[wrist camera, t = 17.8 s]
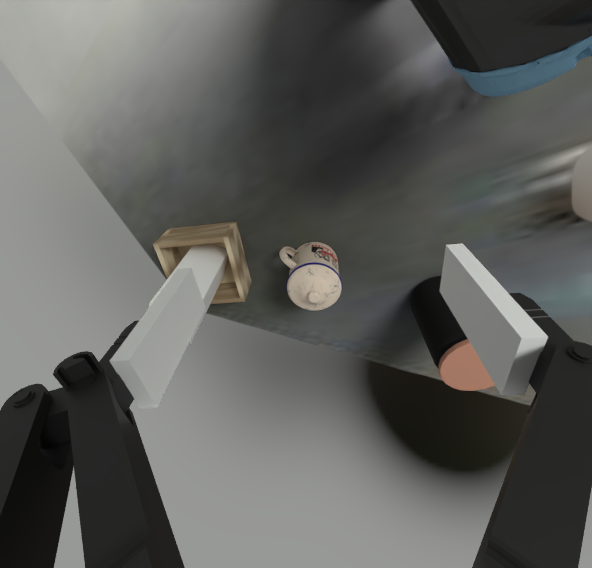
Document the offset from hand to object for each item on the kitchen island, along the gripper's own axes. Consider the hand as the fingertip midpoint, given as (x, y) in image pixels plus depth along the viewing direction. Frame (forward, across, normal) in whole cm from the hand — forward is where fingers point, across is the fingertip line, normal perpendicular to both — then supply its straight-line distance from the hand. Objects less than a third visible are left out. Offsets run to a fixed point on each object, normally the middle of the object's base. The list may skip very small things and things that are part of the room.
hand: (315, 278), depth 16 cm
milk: (+36, -21, -16) cm, 45 cm away
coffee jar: (+37, +21, -29) cm, 51 cm away
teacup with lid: (+37, -3, -18) cm, 41 cm away
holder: (+37, -21, -16) cm, 45 cm away
